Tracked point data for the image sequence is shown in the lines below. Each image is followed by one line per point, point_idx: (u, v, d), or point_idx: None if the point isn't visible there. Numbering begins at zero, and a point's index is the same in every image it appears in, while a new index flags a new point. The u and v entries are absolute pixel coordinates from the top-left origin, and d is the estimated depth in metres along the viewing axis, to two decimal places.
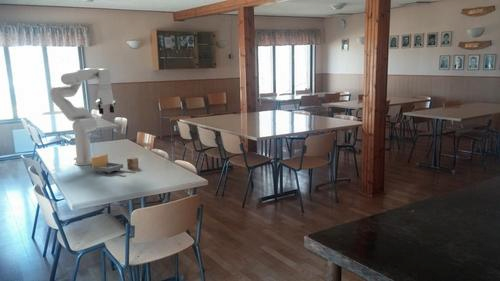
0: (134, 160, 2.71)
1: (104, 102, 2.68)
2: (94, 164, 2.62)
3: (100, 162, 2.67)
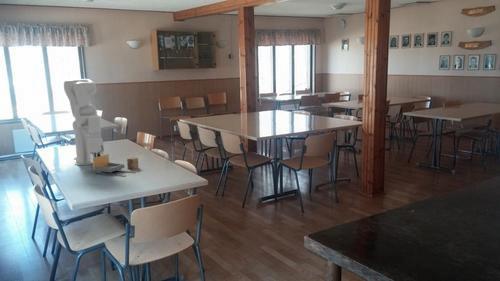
0: (134, 160, 2.71)
1: None
2: (95, 164, 2.62)
3: (101, 163, 2.67)
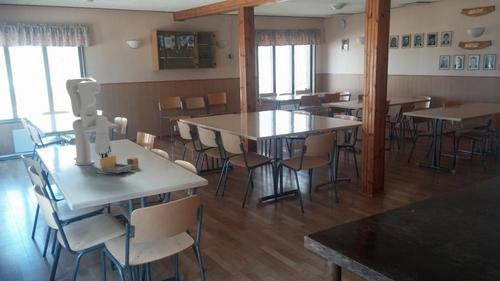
0: (134, 160, 2.71)
1: None
2: (102, 165, 2.59)
3: (109, 163, 2.64)
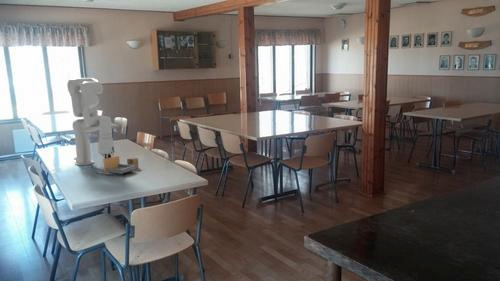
0: (134, 160, 2.71)
1: None
2: (106, 165, 2.58)
3: (112, 164, 2.63)
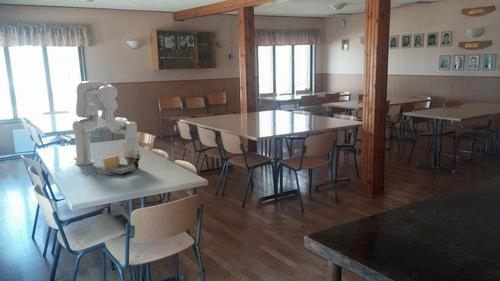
0: (134, 160, 2.71)
1: None
2: (106, 165, 2.58)
3: (112, 164, 2.63)
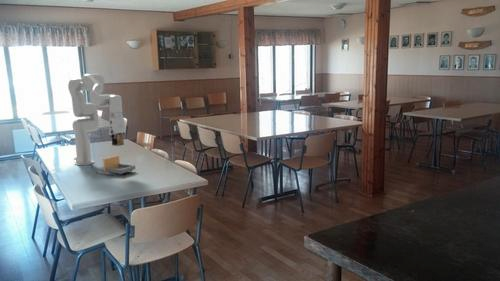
0: None
1: None
2: (106, 165, 2.58)
3: (112, 164, 2.63)
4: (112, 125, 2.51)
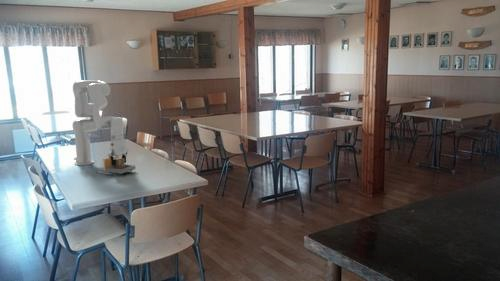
0: None
1: None
2: (106, 165, 2.58)
3: None
4: (113, 147, 2.53)
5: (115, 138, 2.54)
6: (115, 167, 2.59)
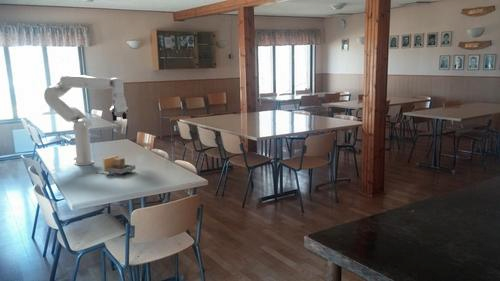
0: None
1: None
2: (106, 165, 2.58)
3: (112, 164, 2.63)
4: (115, 104, 2.81)
5: (116, 96, 2.81)
6: (115, 167, 2.59)
